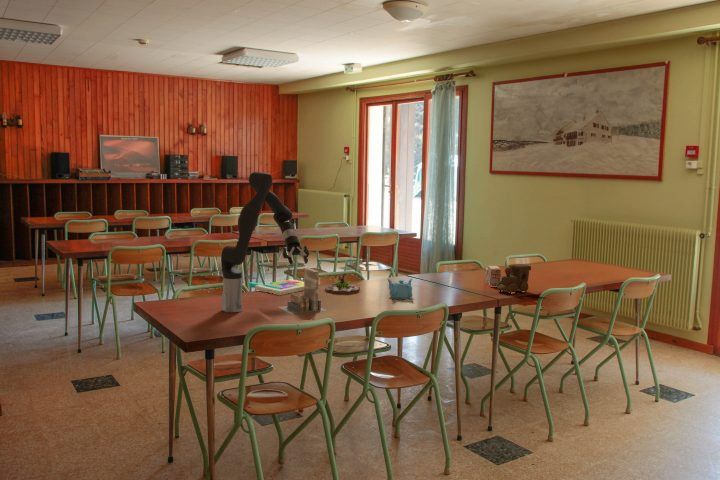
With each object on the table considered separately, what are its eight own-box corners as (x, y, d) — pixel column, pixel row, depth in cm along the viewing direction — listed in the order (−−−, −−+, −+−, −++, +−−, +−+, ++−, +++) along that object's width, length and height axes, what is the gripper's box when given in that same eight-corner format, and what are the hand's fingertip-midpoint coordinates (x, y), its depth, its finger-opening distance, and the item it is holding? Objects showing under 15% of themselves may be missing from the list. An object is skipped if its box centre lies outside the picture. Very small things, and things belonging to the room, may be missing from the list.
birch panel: (313, 310, 333) (314, 271, 330) (303, 305, 343) (304, 268, 341) (317, 310, 334) (318, 271, 331) (308, 305, 344) (308, 267, 342)
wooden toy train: (516, 289, 412) (518, 263, 410) (531, 292, 403) (532, 265, 400) (494, 292, 400) (496, 265, 398) (508, 295, 391) (510, 268, 389)
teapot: (414, 300, 369) (415, 283, 368) (388, 300, 369) (388, 282, 368) (411, 295, 384) (412, 278, 383) (386, 294, 383) (386, 277, 382)
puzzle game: (315, 288, 397) (281, 281, 415) (315, 284, 396) (281, 277, 415) (279, 296, 374) (245, 288, 392) (279, 291, 373) (245, 283, 392)
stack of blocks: (484, 281, 435) (485, 263, 434) (493, 281, 435) (494, 263, 434) (490, 287, 414) (491, 268, 412) (499, 288, 414) (501, 268, 412)
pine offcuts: (300, 311, 329) (300, 298, 328) (290, 306, 340) (291, 293, 339) (308, 310, 332) (309, 297, 331) (299, 305, 342) (299, 292, 341)
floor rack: (290, 316, 325) (290, 304, 324) (277, 309, 338) (278, 297, 338) (326, 313, 334) (326, 300, 333) (312, 306, 348) (313, 294, 347)
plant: (352, 296, 378) (353, 277, 377) (321, 293, 384) (321, 274, 383) (363, 290, 397) (364, 271, 395) (333, 287, 403) (334, 269, 402)
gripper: (280, 235, 351) (289, 259, 343) (304, 234, 358) (313, 258, 350) (276, 244, 357) (284, 268, 348) (300, 242, 364) (309, 266, 355)
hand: (299, 263), depth 349 cm, fingers open, 8 cm apart
